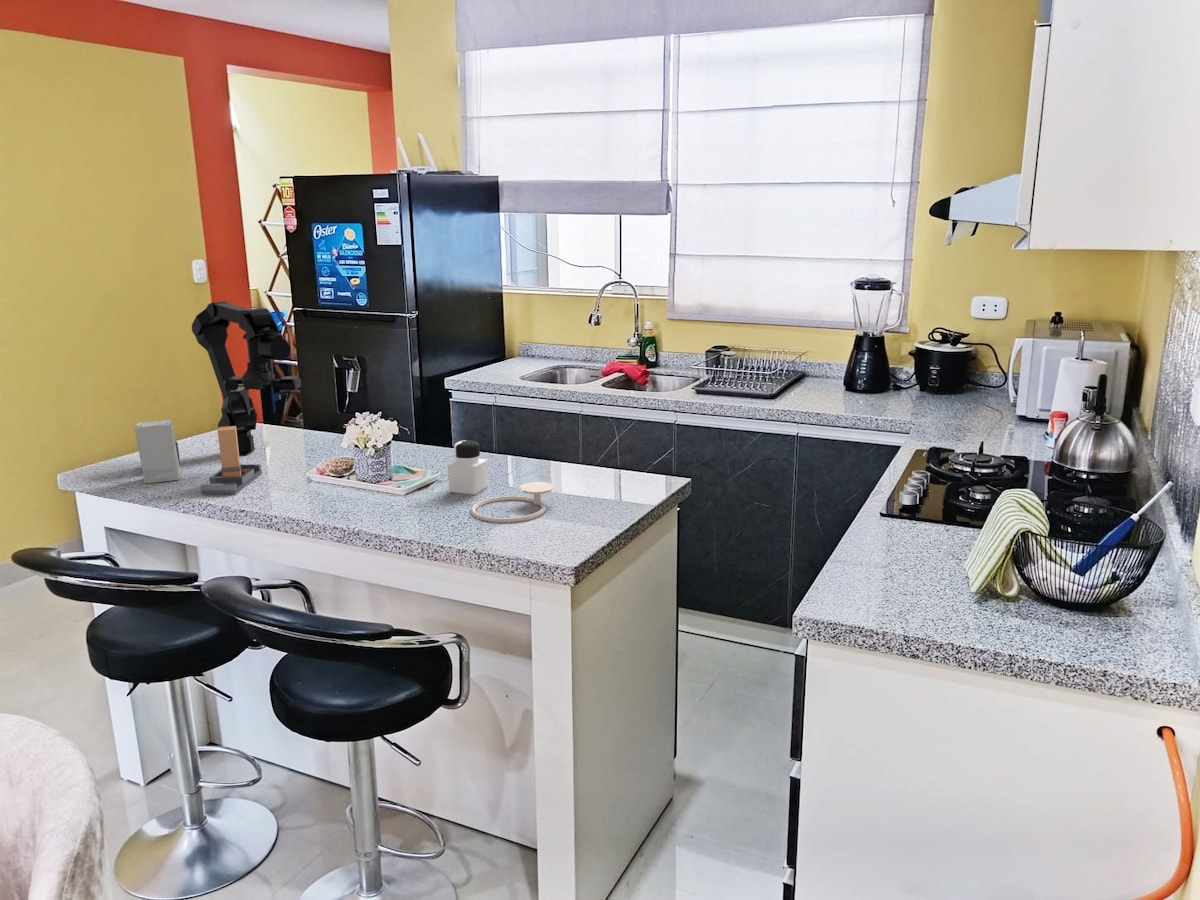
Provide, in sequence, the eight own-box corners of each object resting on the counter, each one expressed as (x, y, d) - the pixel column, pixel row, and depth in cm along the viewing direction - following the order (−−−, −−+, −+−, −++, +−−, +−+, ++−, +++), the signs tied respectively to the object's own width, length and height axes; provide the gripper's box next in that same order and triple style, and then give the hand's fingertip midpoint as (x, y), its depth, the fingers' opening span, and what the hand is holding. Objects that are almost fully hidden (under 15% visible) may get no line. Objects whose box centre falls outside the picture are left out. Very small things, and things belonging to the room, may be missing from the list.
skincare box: (180, 474, 235) (173, 418, 231) (179, 481, 230) (171, 423, 226) (144, 478, 232) (137, 421, 228) (142, 484, 227) (134, 426, 223)
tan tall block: (223, 477, 228) (218, 427, 225) (241, 476, 229) (236, 425, 226) (222, 482, 224) (217, 430, 221) (241, 480, 226) (235, 429, 222)
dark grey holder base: (201, 494, 218) (200, 483, 218) (230, 473, 236) (229, 463, 235) (235, 494, 219) (234, 483, 218) (261, 473, 236) (260, 463, 235)
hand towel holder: (455, 492, 207) (531, 475, 219) (456, 510, 208) (531, 493, 220) (495, 510, 194) (573, 491, 206) (496, 529, 195) (573, 510, 207)
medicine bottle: (488, 487, 224) (486, 439, 221) (475, 495, 217) (473, 446, 214) (462, 484, 226) (460, 437, 223) (448, 492, 220) (446, 444, 217)
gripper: (212, 362, 231) (218, 422, 235) (285, 361, 231) (291, 421, 235) (228, 355, 242) (235, 412, 246) (299, 355, 242) (304, 412, 246)
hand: (265, 415), depth 243 cm, fingers open, 9 cm apart
